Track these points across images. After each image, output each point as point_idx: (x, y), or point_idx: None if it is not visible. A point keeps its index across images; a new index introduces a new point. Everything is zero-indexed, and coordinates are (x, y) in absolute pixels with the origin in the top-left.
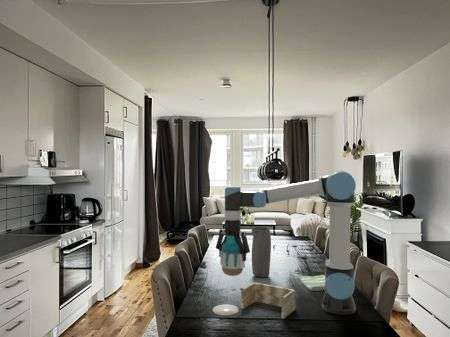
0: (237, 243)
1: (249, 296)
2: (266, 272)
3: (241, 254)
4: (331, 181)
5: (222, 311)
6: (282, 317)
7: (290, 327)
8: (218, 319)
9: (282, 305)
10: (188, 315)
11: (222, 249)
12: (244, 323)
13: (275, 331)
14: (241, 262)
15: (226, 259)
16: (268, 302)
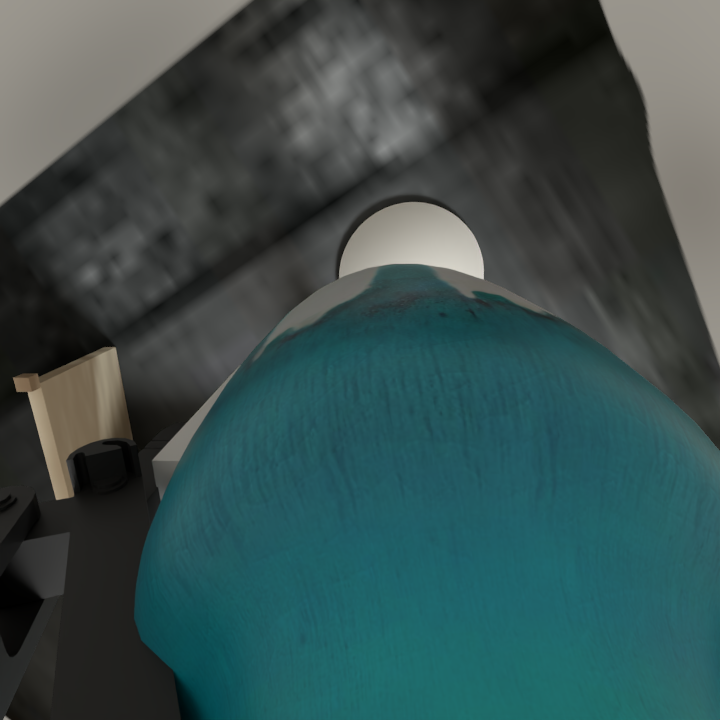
0: (154, 708)
1: None
2: None
3: (156, 458)
4: None
5: (408, 240)
6: (108, 348)
7: (19, 272)
8: (376, 146)
9: (66, 367)
10: (566, 89)
11: (633, 369)
12: (226, 183)
13: (43, 186)
14: (216, 395)
15: (413, 269)
16: None
